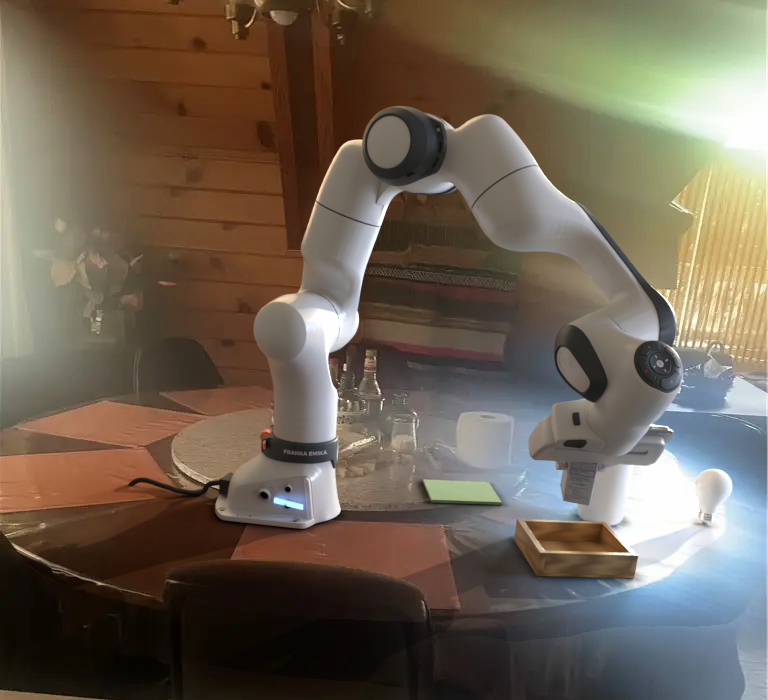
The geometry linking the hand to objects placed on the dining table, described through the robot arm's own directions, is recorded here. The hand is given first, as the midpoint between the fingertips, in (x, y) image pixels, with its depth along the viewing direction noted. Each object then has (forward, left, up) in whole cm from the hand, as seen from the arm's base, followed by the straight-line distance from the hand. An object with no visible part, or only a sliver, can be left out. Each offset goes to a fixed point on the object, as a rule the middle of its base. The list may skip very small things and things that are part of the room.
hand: (579, 467), depth 123 cm
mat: (-12, +28, -15) cm, 35 cm away
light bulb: (+34, +16, -16) cm, 41 cm away
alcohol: (+13, +17, -16) cm, 27 cm away
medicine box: (0, 0, -5) cm, 5 cm away
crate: (+1, -2, -15) cm, 16 cm away
